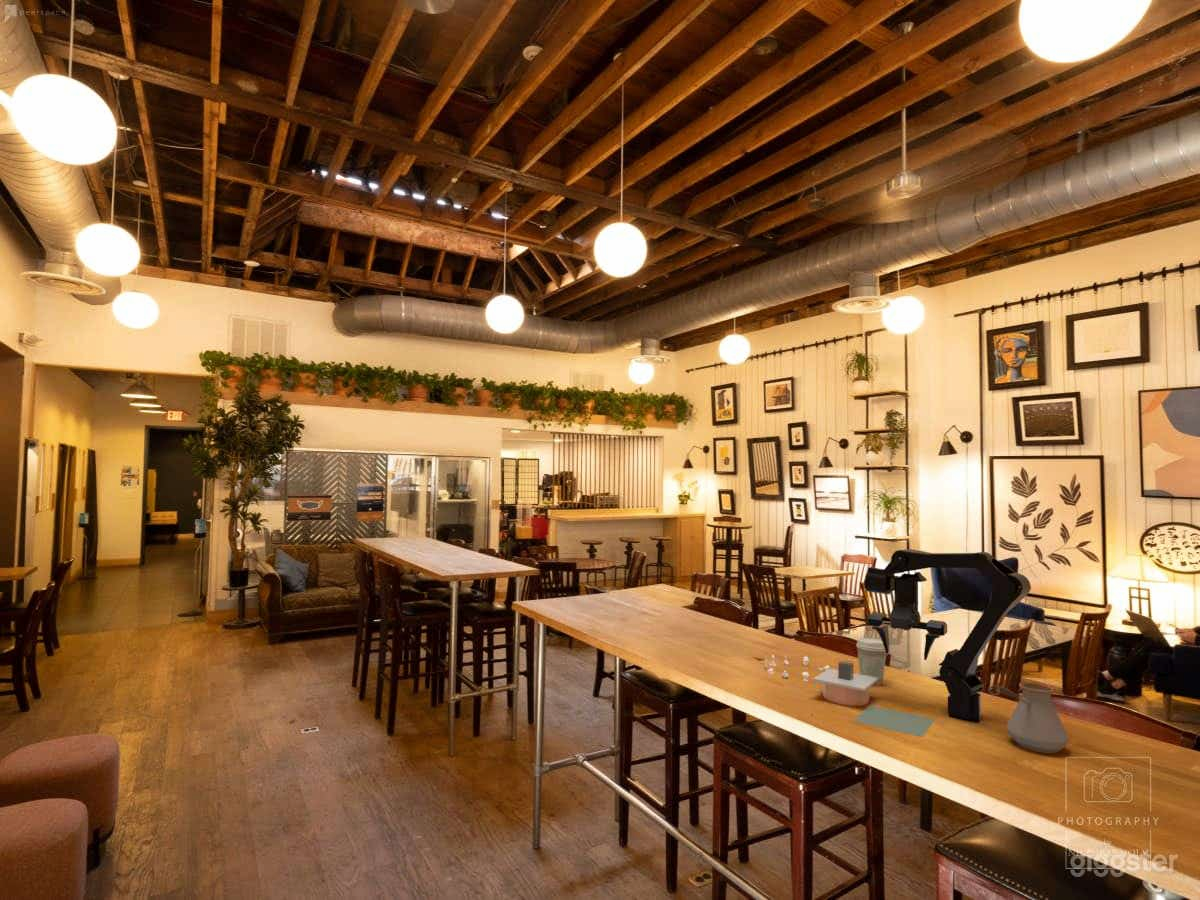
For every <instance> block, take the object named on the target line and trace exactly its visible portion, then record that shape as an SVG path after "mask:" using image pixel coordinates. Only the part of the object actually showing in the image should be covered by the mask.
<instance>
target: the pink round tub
mask: <svg viewBox="0 0 1200 900" xmlns="http://www.w3.org/2000/svg"><path fill="white" fill-rule="evenodd" d="M822 696H823V697H824V699H826V700H827V701H829V702H831V703H834V704H839V705H844V706H851V707H852V706H854V707H855V706H856V707H857V706H858V707H859V706H865V705H867V704H868V703H869V702H870V687H869V688H868V689H867V690H866V691H861V690H856V689H851V688H846V687H841V686H836V685H831V684H826V683H822Z"/></svg>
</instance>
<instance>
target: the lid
mask: <svg viewBox="0 0 1200 900" xmlns="http://www.w3.org/2000/svg"><path fill="white" fill-rule="evenodd" d="M837 665H838V669H834V668H830V669H827V670H825V671H824V670H823V671H822V672H821V673H820V674H818V675H816V676H815V677H813V678H812V682H817V683H821V684H823V683H826V684H831V685H836V686H841V687H846V688H851V689H856V690H861V691H866V690H867V689H868V688H869V689H870V687H872V686H874V685H873V684H874V683H875V682H876V681H878V678H877V677H872V676H866V675H861V674H860V673H854V662H851V661H846V660H841V661H839V662H837Z"/></svg>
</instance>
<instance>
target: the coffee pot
mask: <svg viewBox="0 0 1200 900" xmlns="http://www.w3.org/2000/svg"><path fill="white" fill-rule="evenodd" d="M1018 686H1019V687H1020V689H1021V692H1022V695H1021V696H1020V695H1018V694H1017V693H1015V692H1013V691H1012V690H1010V689H1008V688H1005V687H1004V686H1002V685H999V684H994V685H989V687H988V692H989V693H990V694H992V695H999V694H1000V693H1003V694H1004V695H1005V696H1008V697H1011V698H1013V699H1015V700H1018V703H1017V704H1016V707H1015V709H1014V711H1013V713H1012V715H1011V717H1010V718H1009V721H1008V723H1007V724H1006V727H1005V728H1006V731H1007V733H1008V735H1009V736H1010V737H1011V739H1013V741H1015V742H1016V744H1017V745H1018V746H1020V747H1022V748H1023V749H1026V750H1029V751H1033V752H1038V753H1044V754H1055V753H1059V751H1060V750H1062V749H1064V748H1066V747H1067V745H1068V744H1069V741H1070V738H1069V736H1068V733H1067V731H1066V729H1065V727H1064V725H1063V723H1062V721H1061V718H1060V716H1059V714H1058V712H1057V710H1056V708H1055V706H1054V704H1053V701H1052V700H1051V697H1052V694H1053V693H1054V692H1055V690H1054V688H1052V687H1050V686H1047V685H1043V684H1041V683H1040V684H1039V683H1034V682H1033V683H1032V682H1019V684H1018ZM991 687H994V688H995V689H996V690H998V692H997V693H992V691H990V689H991Z"/></svg>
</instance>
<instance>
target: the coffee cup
mask: <svg viewBox="0 0 1200 900" xmlns="http://www.w3.org/2000/svg"><path fill="white" fill-rule="evenodd" d="M855 646H856V647H857V648H856V650H857V658H858V665H859V674H861V675H866V676H872V677H877V678H878V681H876V682H875V683H874V684H873V685H872V686H873V687H874V686H875V687H876V686H882V685H883V684H884V675H885V669H886V659H887V653H886V651H885V648H884V645H883V642H882V639H878V638H872V637H861V638H858V639H857V642H856V645H855Z"/></svg>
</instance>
